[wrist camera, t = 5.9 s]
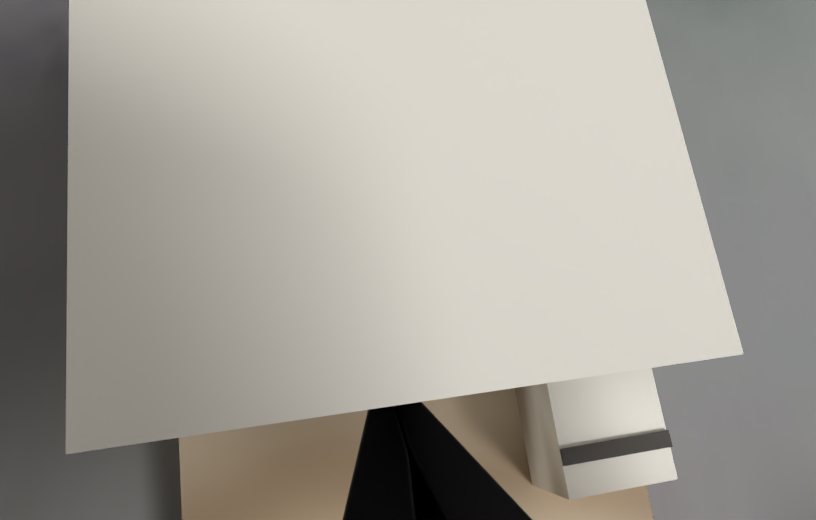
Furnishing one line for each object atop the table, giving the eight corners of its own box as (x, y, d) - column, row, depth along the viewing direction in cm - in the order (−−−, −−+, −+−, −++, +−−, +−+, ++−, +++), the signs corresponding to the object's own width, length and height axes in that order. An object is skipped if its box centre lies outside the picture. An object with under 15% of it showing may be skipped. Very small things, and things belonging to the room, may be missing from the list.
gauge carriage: (587, 366, 16) (971, 320, 7) (234, 417, 14) (66, 454, 5) (540, 140, 18) (791, -155, 8) (219, 158, 16) (70, -196, 6)
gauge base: (647, 612, 16) (747, 677, 13) (204, 720, 14) (161, 840, 10) (519, 11, 21) (562, -73, 18) (173, 14, 19) (136, -83, 15)
